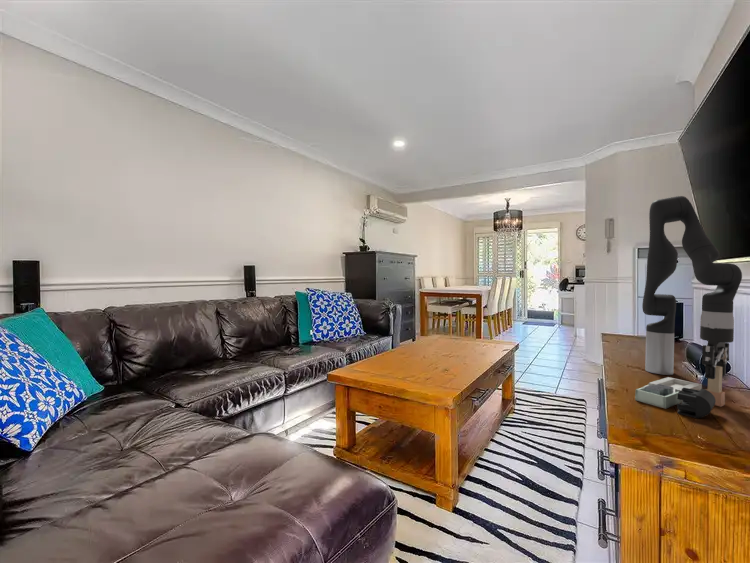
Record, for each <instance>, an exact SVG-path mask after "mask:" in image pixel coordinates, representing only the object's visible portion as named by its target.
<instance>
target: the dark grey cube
mask: <svg viewBox="0 0 750 563" xmlns="http://www.w3.org/2000/svg"><path fill="white" fill-rule="evenodd" d="M648 385H649V384H648ZM645 386H646V385H645ZM645 392H649V393H653V394H657V395H661V396H665V388H661V387H657V386H652V385H649V386H646V387H645Z"/></svg>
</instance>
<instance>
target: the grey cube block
mask: <svg viewBox="0 0 750 563" xmlns="http://www.w3.org/2000/svg"><path fill="white" fill-rule="evenodd" d="M653 386H657V387H661V388H665V396H667V395H670V394H672V393H673V388H674V387H670V386H666V385H661V384H656V385H653Z"/></svg>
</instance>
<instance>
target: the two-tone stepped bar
mask: <svg viewBox="0 0 750 563" xmlns="http://www.w3.org/2000/svg"><path fill="white" fill-rule="evenodd" d="M705 389H706V390H707V391H709V392H710V393H712V394H713V396H714V397H715V400H716V402H715V405H714V406H717V407H724V406H726V392H725V391H723V375H722V367H721V366H716V373H715V379H709V378H707V388H705Z"/></svg>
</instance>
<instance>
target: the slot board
mask: <svg viewBox="0 0 750 563" xmlns="http://www.w3.org/2000/svg"><path fill="white" fill-rule="evenodd" d="M656 384H661V385H666V386H670V387H674V388H673V393H675V392H678V391H682V388H689V389H694V390H699V391H700V390H701V389H703V384H702V383H698V382H693V381H688V380H684V379H679V378H674V377H671V376H670V377H669V376H667V377H664V378H661V379H657V380H653V381H650V382H648V384H647V385H643V387H645V386H649V385H656ZM706 389H707V388H705V390H706ZM682 402H683V400H680V403H679V404H681V403H682Z"/></svg>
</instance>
